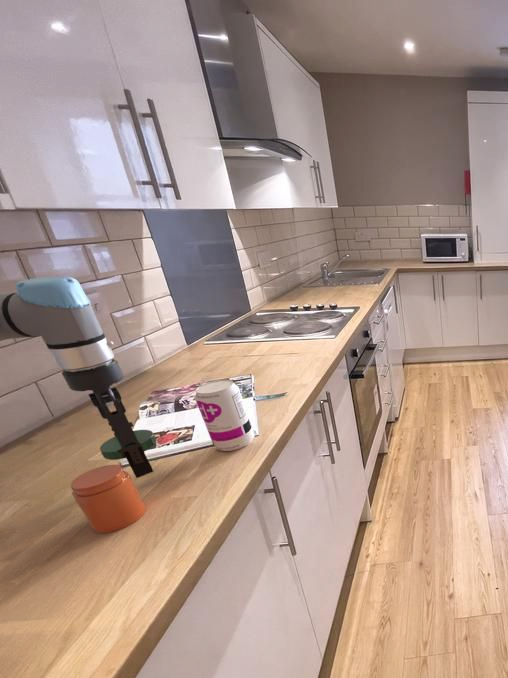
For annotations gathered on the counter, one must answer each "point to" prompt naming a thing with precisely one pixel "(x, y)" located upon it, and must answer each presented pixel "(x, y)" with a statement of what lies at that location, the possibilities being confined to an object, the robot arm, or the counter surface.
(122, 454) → the honey lid
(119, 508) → the honey jar
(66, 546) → the counter surface
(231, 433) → the supplement can
